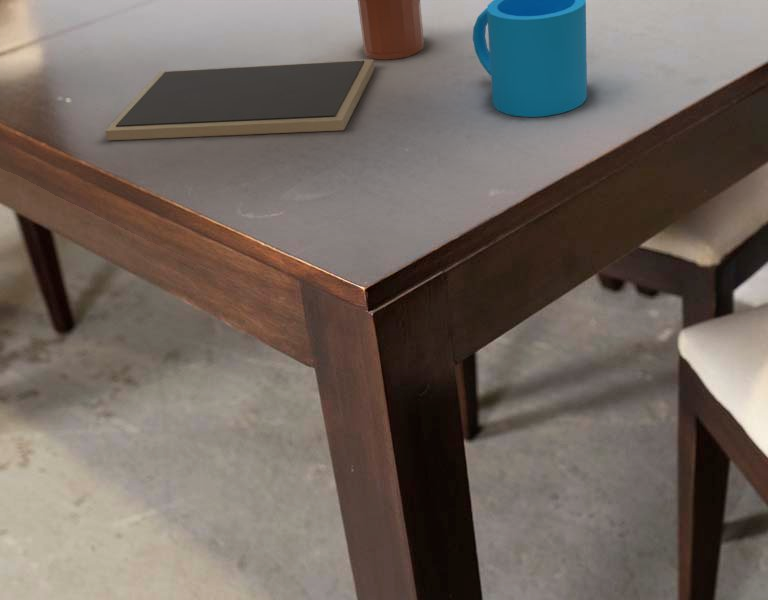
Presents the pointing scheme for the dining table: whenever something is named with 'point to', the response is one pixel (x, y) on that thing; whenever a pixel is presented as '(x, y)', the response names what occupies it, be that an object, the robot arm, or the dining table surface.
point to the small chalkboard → (245, 101)
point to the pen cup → (391, 28)
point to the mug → (534, 55)
